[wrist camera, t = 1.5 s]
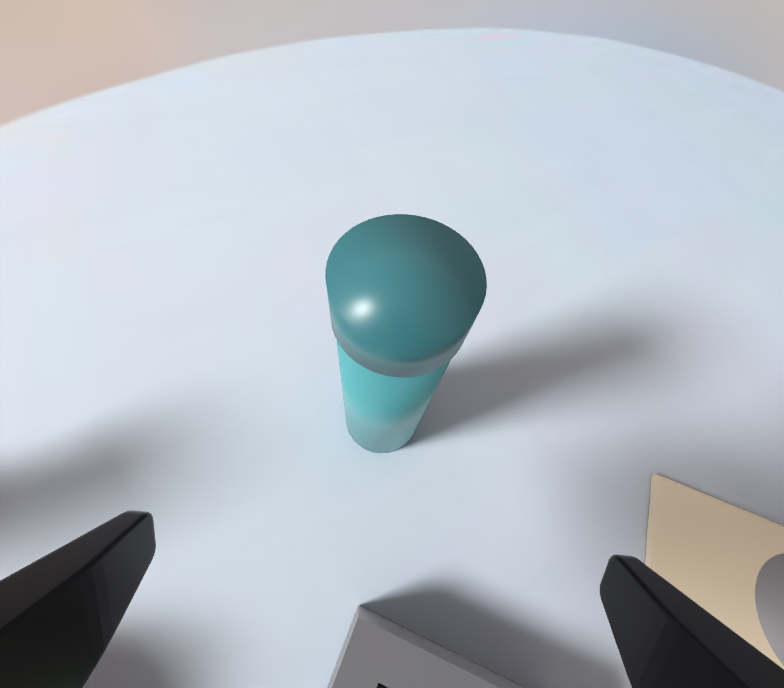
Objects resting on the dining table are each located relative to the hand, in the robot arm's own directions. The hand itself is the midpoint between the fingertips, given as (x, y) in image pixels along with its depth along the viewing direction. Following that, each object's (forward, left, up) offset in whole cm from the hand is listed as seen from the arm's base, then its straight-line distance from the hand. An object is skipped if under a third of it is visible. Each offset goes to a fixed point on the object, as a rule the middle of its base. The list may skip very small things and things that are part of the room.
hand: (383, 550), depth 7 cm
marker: (+6, +2, -12) cm, 14 cm away
